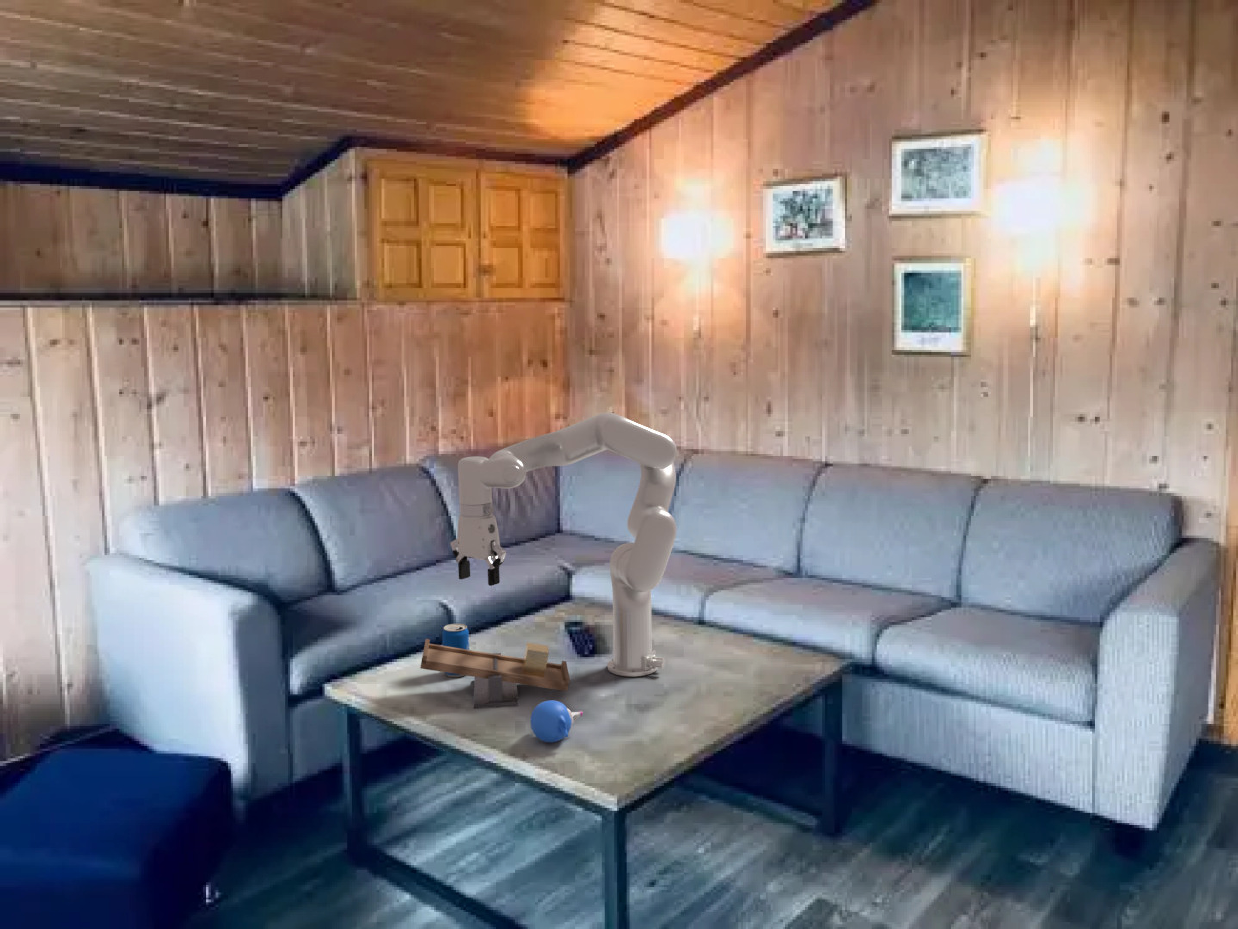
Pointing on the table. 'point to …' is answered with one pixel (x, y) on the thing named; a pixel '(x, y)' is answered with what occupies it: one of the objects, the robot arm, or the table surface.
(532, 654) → the rider
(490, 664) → the beam
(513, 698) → the beam stand
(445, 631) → the beverage can
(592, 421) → the robot arm
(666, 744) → the table surface
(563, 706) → the blue mole toy
